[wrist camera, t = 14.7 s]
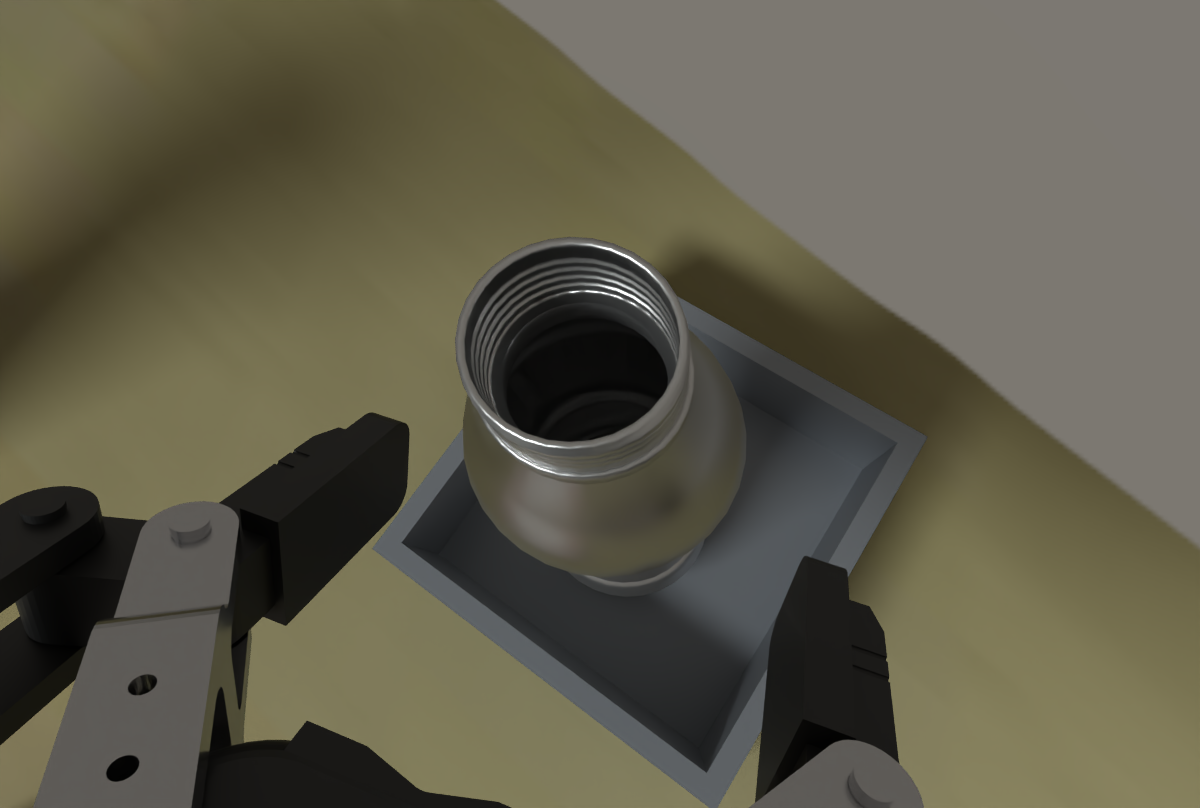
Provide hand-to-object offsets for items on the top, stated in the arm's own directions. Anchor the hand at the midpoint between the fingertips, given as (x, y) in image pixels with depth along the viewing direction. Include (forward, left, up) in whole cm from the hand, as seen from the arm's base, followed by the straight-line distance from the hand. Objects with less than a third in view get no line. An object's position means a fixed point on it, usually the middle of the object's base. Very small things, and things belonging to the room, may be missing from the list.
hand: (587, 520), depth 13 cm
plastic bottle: (+2, +1, -17) cm, 17 cm away
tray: (+3, +1, -17) cm, 18 cm away
